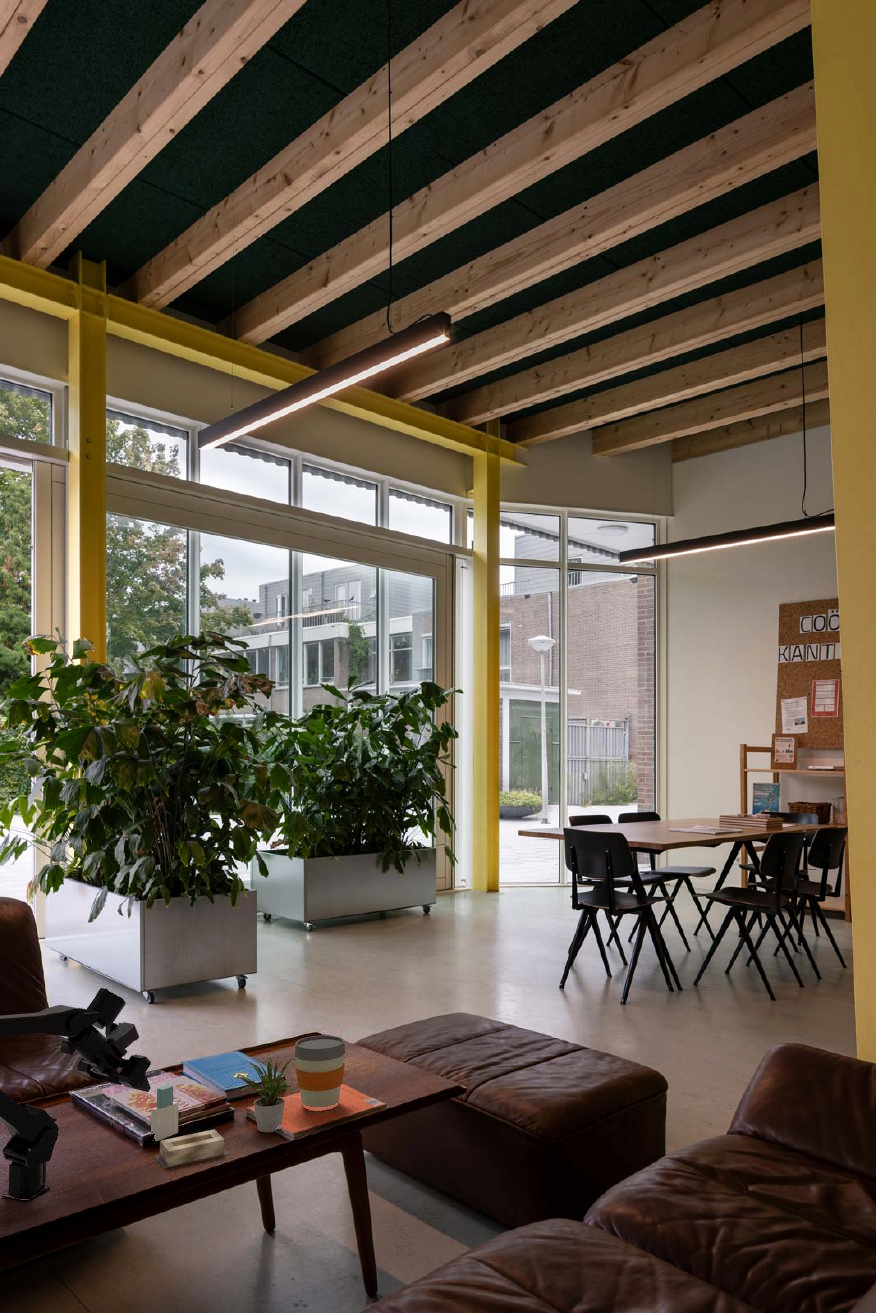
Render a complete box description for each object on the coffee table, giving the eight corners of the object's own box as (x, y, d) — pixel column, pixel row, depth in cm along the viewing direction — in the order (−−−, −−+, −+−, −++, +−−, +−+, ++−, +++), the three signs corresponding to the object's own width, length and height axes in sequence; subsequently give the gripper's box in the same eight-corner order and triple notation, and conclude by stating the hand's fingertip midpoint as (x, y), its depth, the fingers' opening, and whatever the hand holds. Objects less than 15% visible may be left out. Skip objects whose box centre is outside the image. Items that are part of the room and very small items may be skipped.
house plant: (280, 1112, 234) (280, 1042, 236) (315, 1126, 224) (314, 1053, 226) (229, 1128, 224) (229, 1055, 226) (263, 1143, 214) (263, 1067, 216)
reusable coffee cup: (332, 1116, 230) (331, 1050, 232) (285, 1111, 234) (285, 1046, 236) (354, 1099, 242) (353, 1037, 244) (309, 1094, 246) (309, 1033, 248)
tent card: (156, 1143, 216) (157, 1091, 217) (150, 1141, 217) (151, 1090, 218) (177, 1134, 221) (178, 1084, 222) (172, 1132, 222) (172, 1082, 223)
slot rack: (168, 1166, 202) (168, 1151, 202) (159, 1155, 208) (160, 1140, 208) (224, 1153, 208) (224, 1139, 208) (214, 1143, 214) (214, 1129, 214)
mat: (164, 1170, 201) (164, 1168, 201) (154, 1157, 208) (154, 1155, 208) (229, 1155, 208) (229, 1153, 208) (218, 1143, 215) (218, 1141, 215)
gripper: (144, 1018, 206) (184, 1059, 214) (90, 1008, 217) (130, 1047, 224) (112, 1066, 199) (155, 1107, 206) (58, 1053, 209) (100, 1092, 217)
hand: (135, 1086), depth 214 cm, fingers open, 9 cm apart
